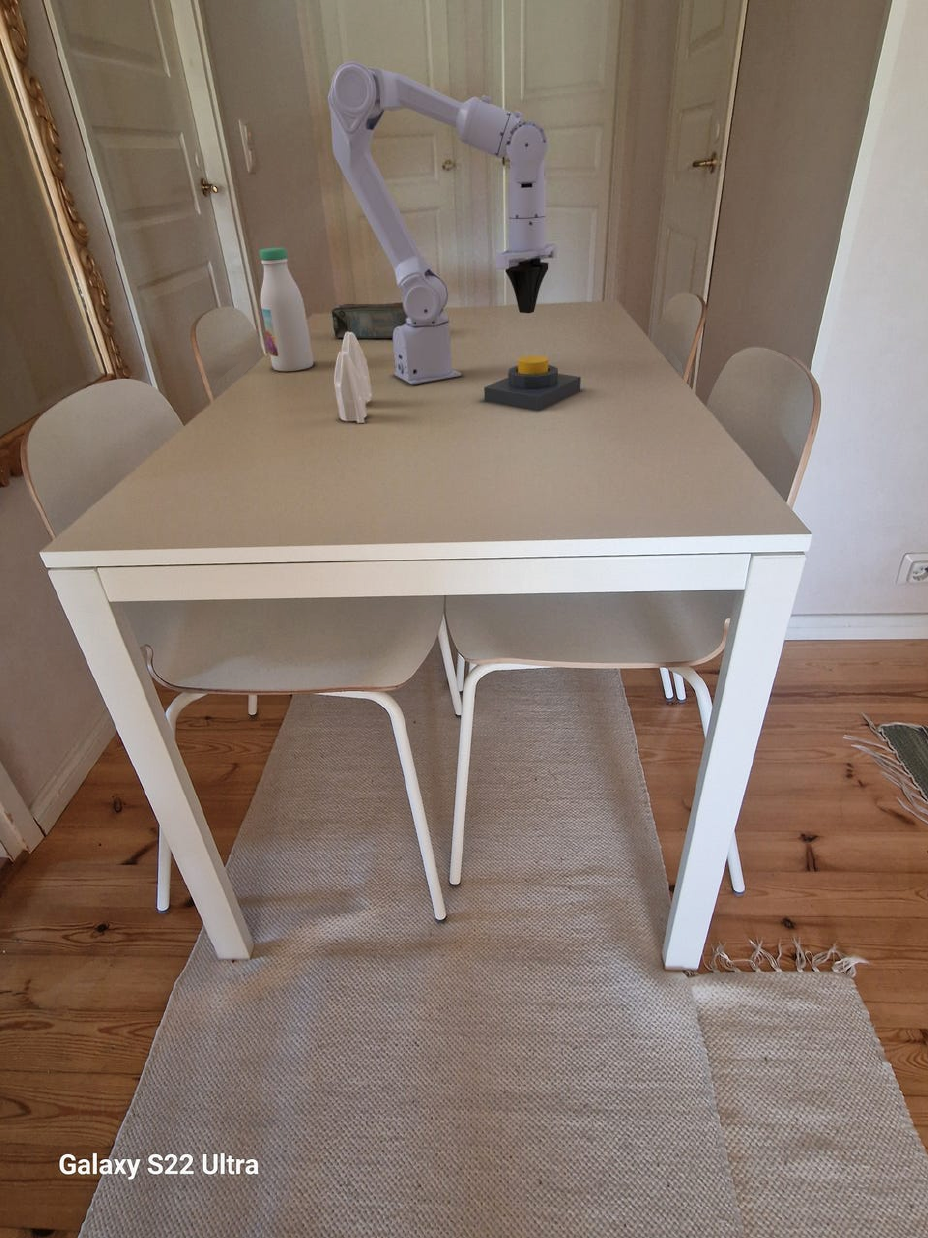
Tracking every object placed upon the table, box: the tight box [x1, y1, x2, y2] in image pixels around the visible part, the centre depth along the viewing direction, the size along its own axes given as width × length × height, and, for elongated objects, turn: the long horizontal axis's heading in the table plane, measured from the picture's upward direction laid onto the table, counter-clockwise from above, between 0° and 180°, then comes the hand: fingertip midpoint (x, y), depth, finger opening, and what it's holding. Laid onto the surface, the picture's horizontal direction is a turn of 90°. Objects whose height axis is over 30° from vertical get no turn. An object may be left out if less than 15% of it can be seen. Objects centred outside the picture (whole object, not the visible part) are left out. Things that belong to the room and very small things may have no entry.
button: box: [517, 354, 549, 374], centre depth 105 cm, size 5×5×2 cm
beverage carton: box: [330, 301, 408, 339], centre depth 149 cm, size 8×19×7 cm, turn 74°
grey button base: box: [483, 364, 582, 412], centre depth 106 cm, size 12×10×4 cm
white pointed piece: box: [333, 332, 373, 424], centre depth 102 cm, size 12×4×11 cm, turn 179°
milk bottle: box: [259, 247, 314, 372], centre depth 125 cm, size 8×8×20 cm
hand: (526, 312), depth 113 cm, fingers closed
